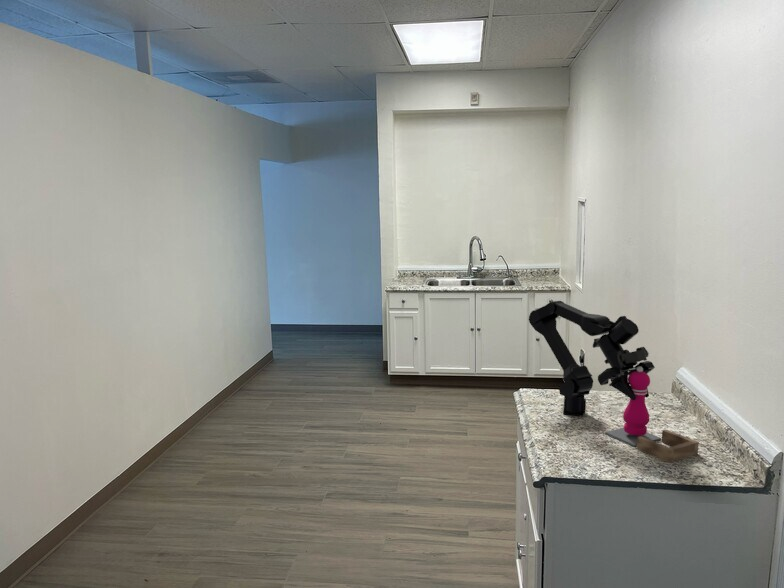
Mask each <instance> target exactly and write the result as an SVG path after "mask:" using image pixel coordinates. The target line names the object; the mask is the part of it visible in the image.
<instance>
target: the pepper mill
mask: <svg viewBox="0 0 784 588" xmlns="http://www.w3.org/2000/svg"><path fill="white" fill-rule="evenodd" d="M642 371H643V368H642V367H641V366H639V367H637V371H634V372H632V373H631V374H630V375H628V383H629V385H630V386H631V388H632V390H633V392H634V394H635V396H636V400H632V399H630V398H629V401H628V404H627V405H626V407H625V409H624V411H623V415H622V417H623V420H624V422H625V423H624V425H623V427H624V431H625V432H626V433H628V434H631V435H637V436H641V435H645V434H646V433H648V432H647V431H648V426H647V425H648V423H650V414H649V411H648V408H647V406H646V397H645V395H646V394H647V390H648V391H649V388H648V387H649V386H650V384H651V378H650V376H649V375H648V374H649V373H647V374H646V373H645V372H642ZM647 388H648V389H647Z"/></svg>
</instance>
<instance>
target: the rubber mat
mask: <svg viewBox="0 0 784 588" xmlns="http://www.w3.org/2000/svg"><path fill="white" fill-rule="evenodd" d="M604 435H606V436H608V437H611V438H613V439H616V440H618V441H620V442H622V443H624V444H626V445H629V446H631V447H633V448H637V439H638V437H640V436H637V435H631V434H628V433H626V432H625V431H624V426H623V427H619V428H617V429H613V430H609V431H606V432H604ZM641 436H642V437H645V438H647V439H650V440H652V441H654V442H659V441H662V437H659V436H657V435H655V434H652V433H649V432H647V433H646V434H645V435H641Z"/></svg>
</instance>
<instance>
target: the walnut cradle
mask: <svg viewBox="0 0 784 588" xmlns="http://www.w3.org/2000/svg"><path fill="white" fill-rule="evenodd" d="M661 442H662V443H664V444H666V445H669V446H670V447H669V446H666V445H663V444H662V443H659V442H658V441H655V442H654V441H652V440H650V439H647V438H645V437H642V436H640V437H638V439H637V447H636V449H637V450H638V451H641V452H644V453H646V454H647V455H650V456H653V457H655V458H656V459H660V460H661V461H664V462H667V463H669V464H670V463H673V462H678V461H680V460H684V459H686V457H687V458H690V457H693V456H697V455H698V453H699V445H700V442H699V441H698V440H695V439H692V438H689V437H687V436H684V435H681V434H678V433H676V432H674V431H671V430H669V429H663V430H662V431H661ZM689 456H690V457H689Z"/></svg>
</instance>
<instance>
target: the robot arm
mask: <svg viewBox="0 0 784 588" xmlns="http://www.w3.org/2000/svg"><path fill="white" fill-rule="evenodd" d="M559 317H561V318H562V319H564V320H567V321H569V322H572V323H574V324H575V325H578V326H579V327H580V328H581V330H582V331H583V333H585V334H587V335H588V336H590V337H596V336H600V337H599V338H598V337H597V338H594V339H593V343H592V348H593V349H594V348H600V351H601V352H602V353H603V356H604V357H605V360H604V363H605V364H606V365H608V364H609V365H610V367H608V368H606V369H605V370H604V371H602V372H601V373H600V374H598V375H597V381H598V384H600V385H599V386H606V385H608V386H609V387H612V388H614V389H616V390H617V391H618V392H620V393H622V394H623V395H624V396H626V397H628V398H629V400H630V399H632V400H636V396H635V394H634V392H633V390H632V388H631V386H630V384H629V383H628V377H629V375H630V374H631V373H632V372H634V371H637V367H639V366H641V367H642V368H643V371H642V372H645V373H646V374H649V373H650V372H652V371H653V370H654V369H656V367H655V365H654V364H653V362H652V361H650V360H648V359H647V358H648V357H649V353H650V352H649V351H648V350H647V348H646V347H645V346H641V347H637V348H635V349H636V350H634V351H631V352H630V351H629V350H628V349H624V348H623V346H622V345H626V344H627V343H628V342H629V341H631V340H632V339H633V338H634V337H635V336H636V335H638V334H639V327H638V325H637V323H635V322H634V321H633V320H632V319H629V318H627V316H626V315H621V316H619V317H618V318H617V320H615V321H612V320H610V317H607V316H605V315H602V314H594V313H588V312H585V311H584V310H580V309H579V308H577V307H574V306H571V305H570V304H567V303H565V302H564V301H561V300H553V301H549V302H548V303H547V304H545V305H543V306H542V307H539V308H537V309H535V310H532V311H530V313H529V316H528V322H529V324H530V325H531V327H532V328H533V329H534V331H535V332H538V333H539V334H540V335H542V336H543V338H544V340H545V342H546V343H547V344H548V346H549V349H550V350H551V352H552V353H553V355H554V356H555V359H556V360H557V362H558V363H559V364H558V365H560V367H561V369H562V371H563V374H562V375H563V376H562V377H563V379H562V380H563V382H564V383H563V384H562V385H561V386H559V387H558V391H559V395H561V396H563V411H562V414H563V415H567V416H578V417H584V416H585V413H586V408H587V399H586V397H585V395H589V394H590V392H591V390H592V388H593V384H594V379H593V375H592V373H591V372H590V371H589V369H588V366H586V365H579V364H578V363H577V362H576V359H575V358H574V356H573V354H572V352H571V351H570V350H569V348H568V346H567V344H566V343H565V341H564V339H563V338H562V336H561V334H560V332H559V331H558V330H557V324H558V323H557V318H559ZM638 362H639V363H638ZM609 381H610V383H609ZM647 389H648V390H647V394H646V395H645V399H646V398H649V396H650V393H649V388H648V387H647Z"/></svg>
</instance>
